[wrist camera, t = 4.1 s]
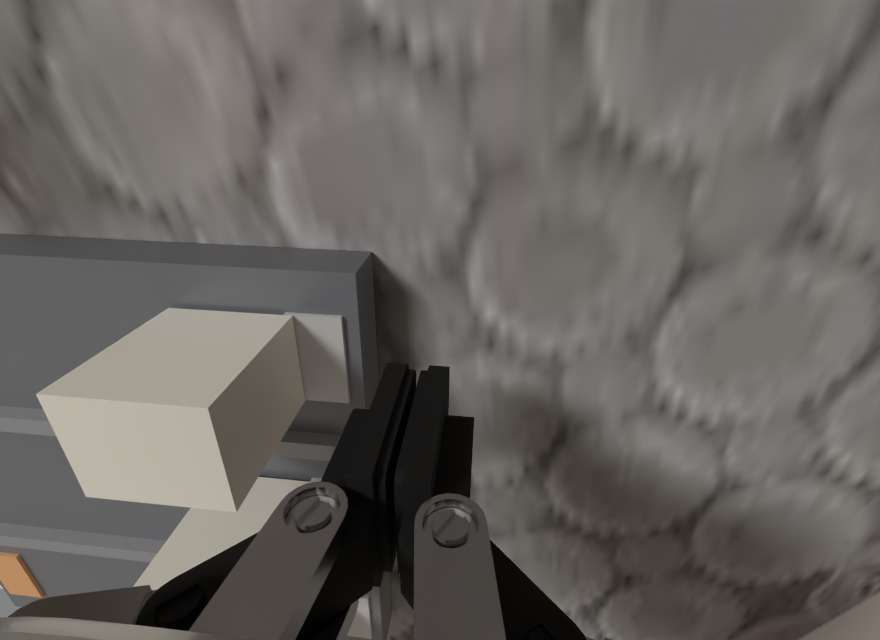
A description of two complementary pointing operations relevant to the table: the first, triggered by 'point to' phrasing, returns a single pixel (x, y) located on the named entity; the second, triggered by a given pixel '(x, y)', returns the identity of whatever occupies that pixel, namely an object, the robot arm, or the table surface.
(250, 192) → the table surface
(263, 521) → the tab
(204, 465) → the cream rectangular block
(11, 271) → the switch bank
